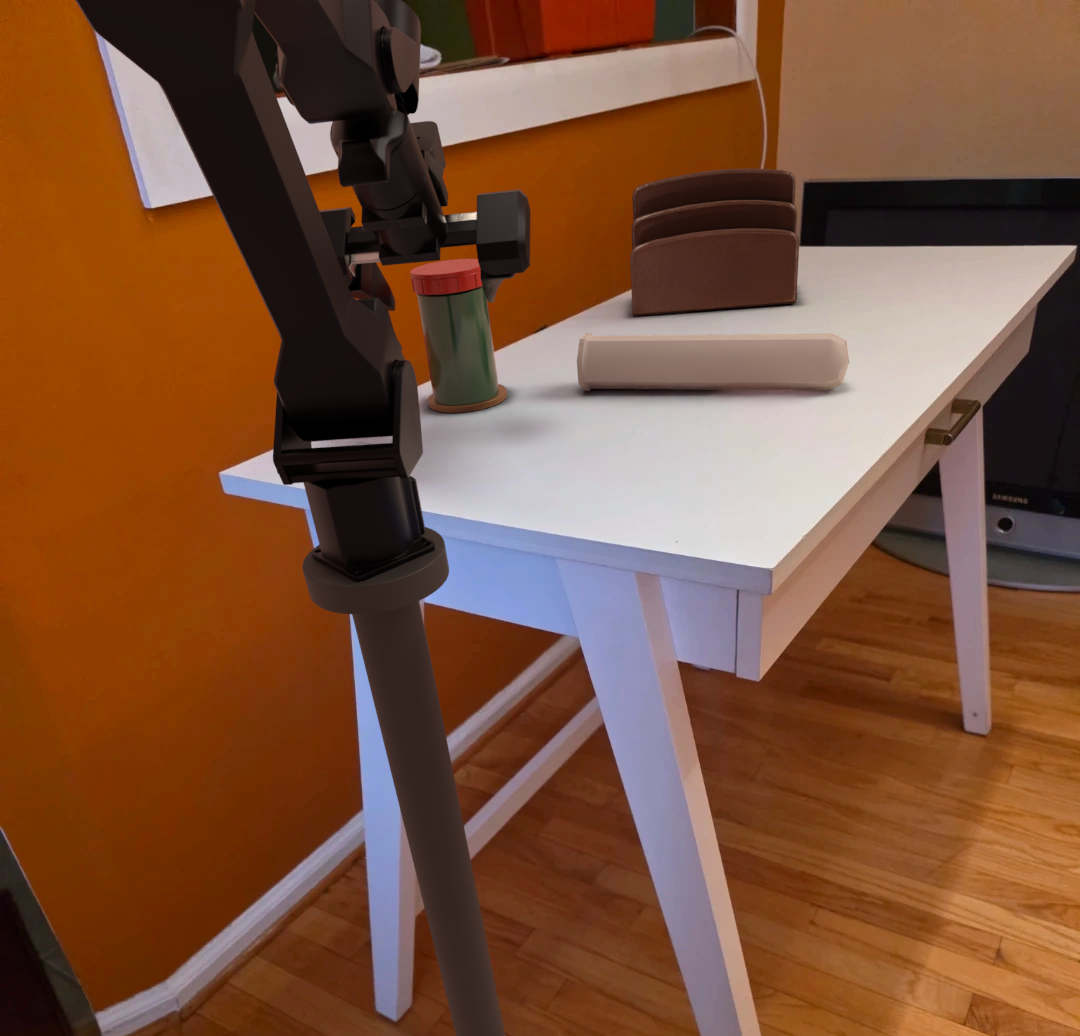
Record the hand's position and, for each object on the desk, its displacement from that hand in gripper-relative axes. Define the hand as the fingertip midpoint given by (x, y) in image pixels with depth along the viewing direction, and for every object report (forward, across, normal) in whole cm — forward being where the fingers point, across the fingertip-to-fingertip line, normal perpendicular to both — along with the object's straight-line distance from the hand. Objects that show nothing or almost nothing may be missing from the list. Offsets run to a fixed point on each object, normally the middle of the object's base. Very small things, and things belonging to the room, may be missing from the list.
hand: (442, 301), depth 86 cm
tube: (+10, -24, +5) cm, 27 cm away
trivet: (+11, 0, +4) cm, 11 cm away
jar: (+10, 0, +4) cm, 11 cm away
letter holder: (+35, -26, -21) cm, 48 cm away
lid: (+2, 0, -4) cm, 5 cm away
